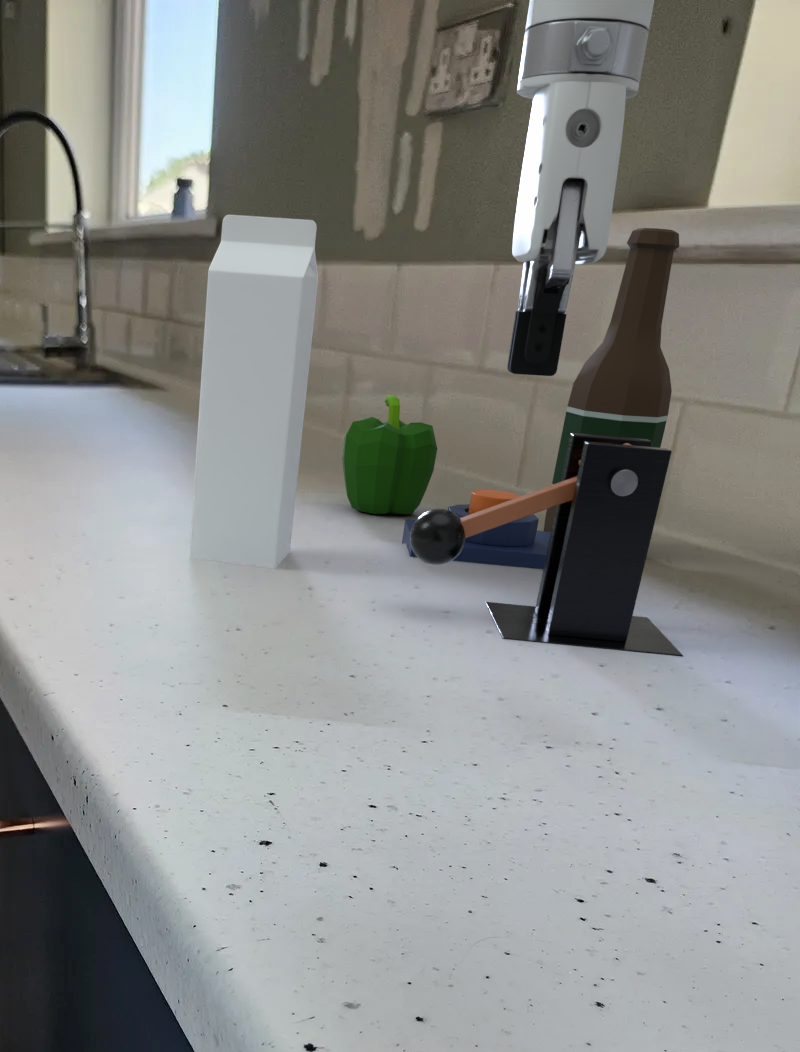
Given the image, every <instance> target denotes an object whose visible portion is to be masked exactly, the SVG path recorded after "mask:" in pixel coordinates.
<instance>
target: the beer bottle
mask: <svg viewBox="0 0 800 1052" xmlns="http://www.w3.org/2000/svg"><path fill="white" fill-rule="evenodd" d="M626 244H627V245H628V247H629V251H628V255H627V259H626V263H625V267H624V269H623V273H622V278H621V282H620V285H619V289H618V292H617V297H616V300H615V304H614V307H613V311H612V316H611V319H610V322H609V325H608V328H607V330H606V333H605V335H604V338H603V341H602V343H601V344H600V345H598V347H597V348H596V349H595V351H594V352H592V354H591V355H590V356H589V357H587V359H586V361H585V362H584V363H583V365H582V367H581V368H580V371H578V374H577V376H576V377H575V379H574V381H573V383H572V388H571V391H570V395H569V398H568V403H567V405H566V411H565V415H564V421H563V425H562V431H561V436H560V442H559V446H558V451H557V456H556V460H555V461H556V462H555V467H554V472H553V476H552V482H551V485H554V484H556V483H559V482H561V479H562V474H563V469H564V464H565V459H566V454H567V449H568V444H569V439H570V434H571V433H580V434H592V435H604V436H615V437H627V438H639V439H648V440H650V441H652V446H651V447H657V448H662V442H663V438H664V434H665V430H666V425H667V421H668V417H669V411H670V405H671V404H670V403H671V399H672V382H671V381H672V380H671V372H670V367H669V365H668V363H667V360H666V359H665V356H664V355H665V354H664V353H663V350H662V348H661V344H662V343H661V342H662V341H661V340H662V325H663V319H664V314H665V313H664V312H665V306H666V302H667V294H668V289H669V282H670V276H671V269H672V263H673V258H674V253H675V251H676V250H677V249H679V248H680V233H678V232H677V231H675V230H673V229H669V228H659V227H654V228H653V227H652V228H651V227H639V228H635V229H633V230H632V231H631V233H630V235H629V237H628V239H627V241H626ZM555 509H556V506H554V507H551V508H549V509H546V511H545V518H544V524H543V525H544V526H543V531H545V532H551V529H552V524H553V519H554V514H555Z"/></svg>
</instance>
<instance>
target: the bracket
mask: <svg viewBox="0 0 800 1052" xmlns="http://www.w3.org/2000/svg"><path fill="white" fill-rule="evenodd" d="M625 443H629V444H631V445H622V444H625ZM651 446H652V441H650V440H648V439H639V438H627V437H615V436H604V435H592V434H580V433H571V434H570V439H569V444H568V449H567V454H566V459H565V464H564V469H563V474H562V479H561V482H562V481H565V480H568V479H570V478H573V477H576V476H577V481H576V486H575V491H574V495H573V500H571V501H568V502H566V503H563V504H560V505H557V506H556V509H555V514H554V519H553V524H552V529H551V534H550V539H549V544H548V548H547V553H546V558H545V563H544V568H543V569H542V573H541V578H540V583H539V584H540V585H539V589H538V594H537V599H536V604H535V605H534V606H533V605H524V604H523V605H522V604H514V603H513V604H512V603H502V602H493V601H485V606H486V609H488V612H489V615H490V616H491V618H492V620H493V622H494V624H495V626H496V629H497V631H498V633H499V635H500V637H501V639H502V640H509V641H519V642H529V643H530V642H531V643H541V644H550V645H560V646H570V647H571V646H572V647H581V648H589V649H591V648H592V649H600V650H609V651H610V650H611V651H623V652H631V653H632V652H633V653H640V654H641V653H642V654H650V655H662V656H673V657H680V658H681V657H684V654H682V653H681V652H680V650H678V648H677V647H676V646H675V645H674V644H673V643H672V642H671V641H670V640H669V639H668V637H666V636H665V634H664V633H662V631H661V630H660V629H659V628H658V627H657V626H656V625H655V624H654V622H652V620H650V619H649V618H648V617H647V616H637V615H634V611H635V607H636V603H637V599H638V594H639V590H640V586H641V582H642V578H643V574H644V569H645V565H646V561H647V557H648V552H649V549H650V544H651V541H652V536H653V532H654V527H655V523H656V518H657V514H658V510H659V506H660V502H661V498H662V495H663V489H664V485H665V483H666V482H665V481H666V478H667V474H668V470H669V469H668V468H669V464H670V461H671V457H672V452H673V451H672V450H671V449H669V448H667V447H660V448H657V447H651ZM579 460H581V461H580V466H579Z"/></svg>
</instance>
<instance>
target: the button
mask: <svg viewBox="0 0 800 1052" xmlns="http://www.w3.org/2000/svg"><path fill="white" fill-rule="evenodd" d="M520 496H521V495H519V494H517V493H514V492H513V493H512V492H508V491H503V490H494V489H474V490H472V491H471V494H470V499H469V504H470V505H469V511H468V513H470V514H473V513H476V512H479V511H482V510H484V509H487V508H490V507H493V506H495V505H498V504H501V503H504V502H507V501H509V500H512V499H515V498H518V497H520Z"/></svg>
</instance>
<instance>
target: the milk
mask: <svg viewBox="0 0 800 1052" xmlns="http://www.w3.org/2000/svg"><path fill="white" fill-rule="evenodd" d="M317 227H318V226H317V222H315V220H313V219H302V218H301V219H300V218H289V217H274V216H273V217H272V216H256V215H243V214H242V215H241V214H226V215H225V216H224V217H223V219H222V224H221V235H220V236H221V237H220V243H219V245H218V247H217V249H216V252H215V254H214V256H213V258H212V261H211V262H210V265H209V268H208V271H207V286H206V299H205V314H204V330H203V342H202V343H203V346H202V357H201V358H202V360H201V373H200V375H201V376H200V390H199V404H198V405H199V406H198V421H197V435H196V448H195V450H196V451H195V463H194V465H195V466H194V481H193V492H192V493H193V494H192V495H193V496H192V508H191V526H190V528H191V529H190V538H189V539H190V540H189V554H188V558H189V559H191V560H200V561H207V562H215V563H223V564H233V565H240V566H245V567H256V568H263V569H269V570H275V569H277V568H278V566H279V565H280V564H281V563H282V562H283V561H284V559H285V558H286V557H287V556H288V555H289V554H290V552H291V544H292V535H293V526H294V516H295V506H296V497H297V487H298V477H299V468H300V458H301V449H302V439H303V432H304V431H303V429H304V422H305V421H304V420H305V411H306V401H307V393H308V382H309V371H310V363H311V353H312V344H313V334H314V324H315V316H316V306H317V296H318V286H319V272H318V265H317V264H318V263H317V255H316V239H317V229H318V228H317Z"/></svg>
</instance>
